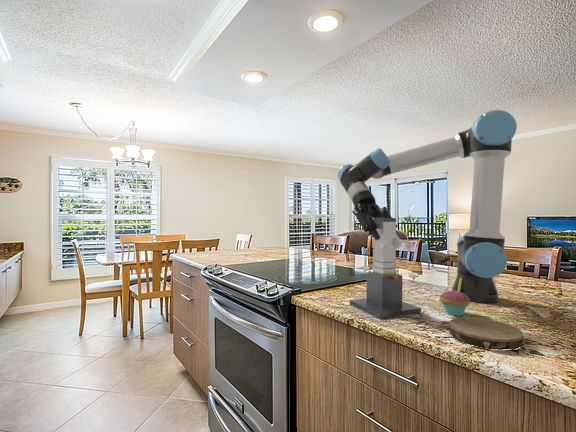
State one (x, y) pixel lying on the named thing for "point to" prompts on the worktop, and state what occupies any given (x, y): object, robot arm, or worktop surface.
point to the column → (385, 257)
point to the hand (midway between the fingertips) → (392, 246)
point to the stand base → (384, 297)
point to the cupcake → (455, 301)
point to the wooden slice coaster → (486, 333)
